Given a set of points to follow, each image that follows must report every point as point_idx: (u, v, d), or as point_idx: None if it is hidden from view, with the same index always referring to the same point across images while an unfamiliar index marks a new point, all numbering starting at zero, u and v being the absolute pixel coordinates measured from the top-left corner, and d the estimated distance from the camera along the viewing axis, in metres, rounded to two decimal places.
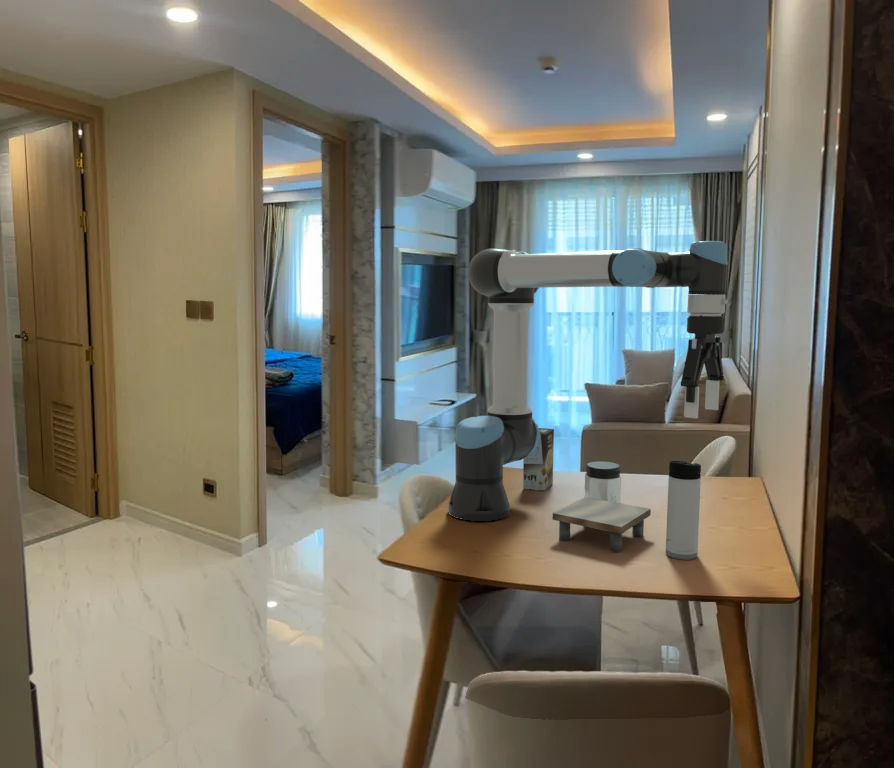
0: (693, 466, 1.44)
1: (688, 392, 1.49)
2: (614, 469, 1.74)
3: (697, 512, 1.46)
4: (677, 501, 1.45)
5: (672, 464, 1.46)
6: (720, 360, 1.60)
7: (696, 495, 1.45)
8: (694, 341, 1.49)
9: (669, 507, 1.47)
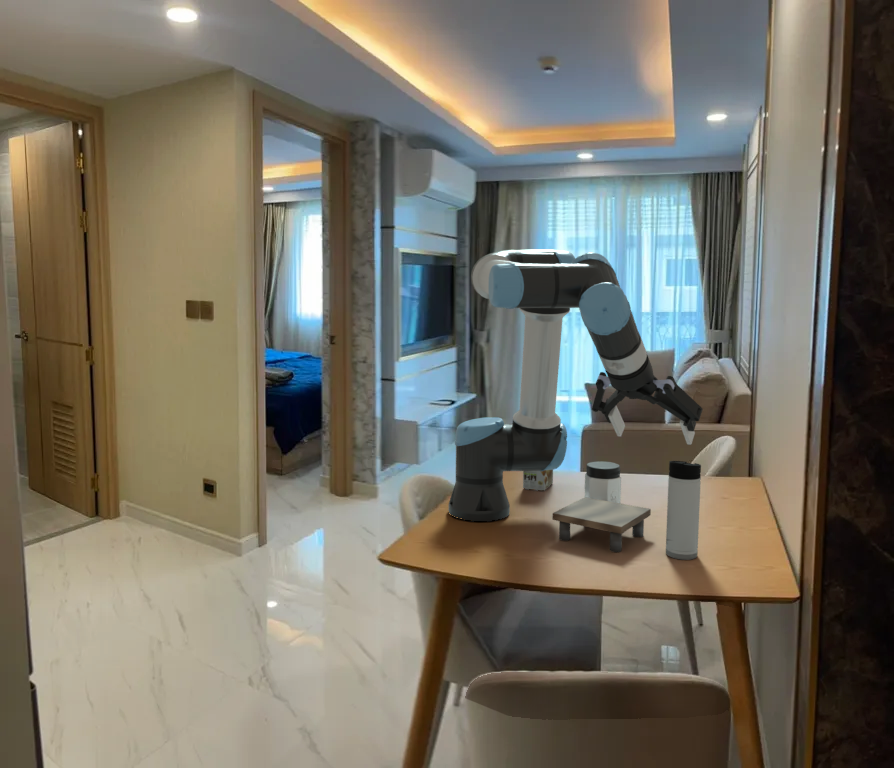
0: (693, 466, 1.44)
1: None
2: (614, 469, 1.74)
3: (697, 512, 1.46)
4: (677, 501, 1.45)
5: (672, 464, 1.46)
6: (681, 407, 1.24)
7: (696, 495, 1.45)
8: (598, 378, 1.31)
9: (669, 507, 1.47)
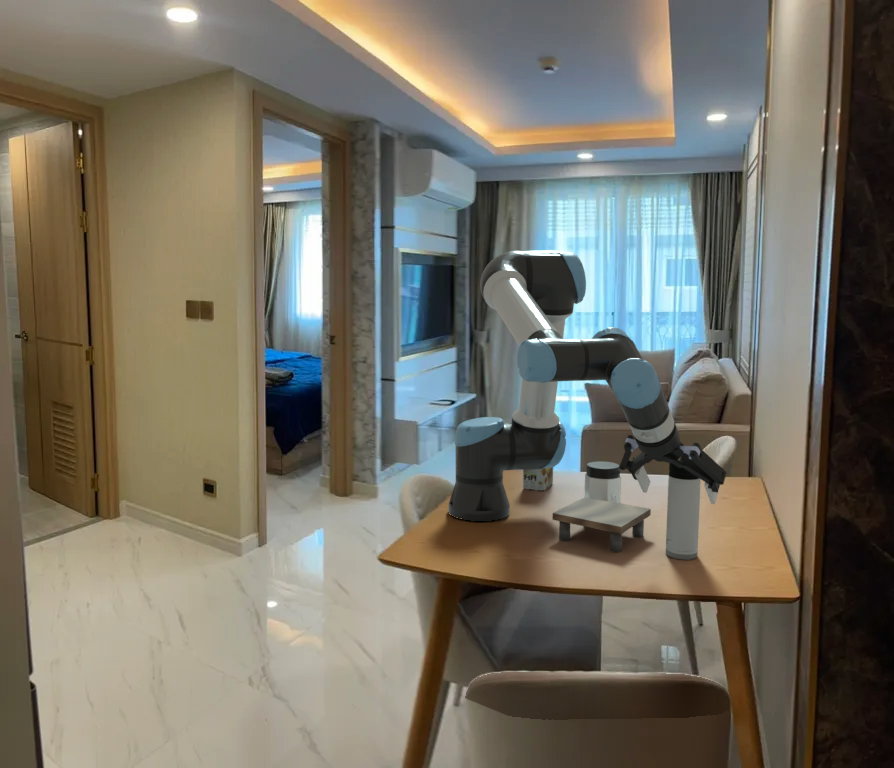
0: None
1: None
2: (614, 469, 1.74)
3: (697, 512, 1.46)
4: (677, 501, 1.45)
5: (672, 464, 1.46)
6: (707, 471, 1.31)
7: (696, 495, 1.45)
8: (626, 441, 1.37)
9: (669, 507, 1.47)
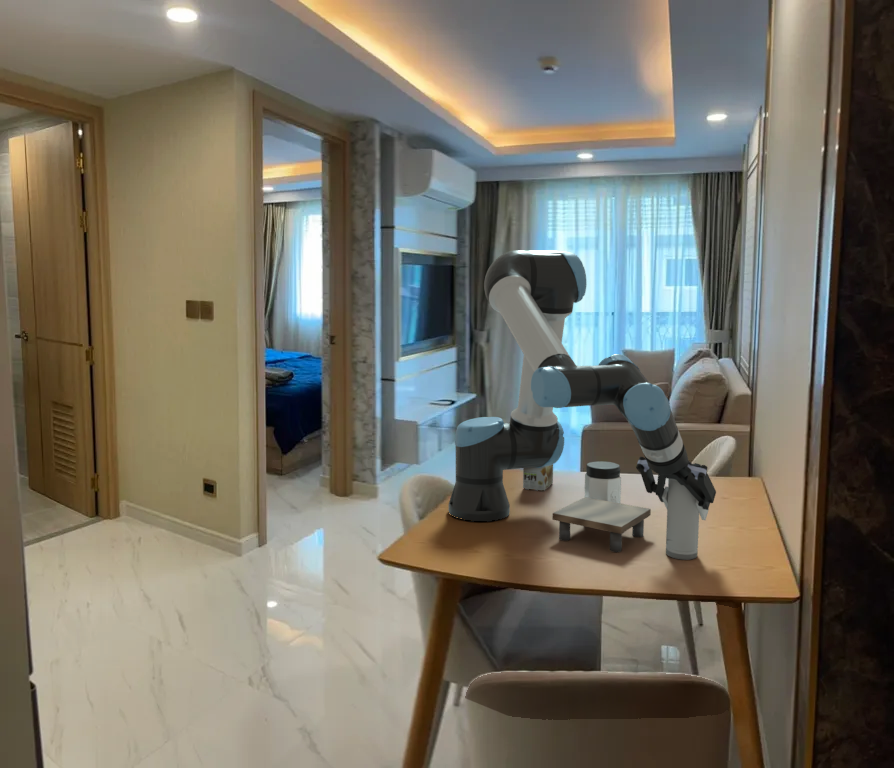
0: None
1: None
2: (614, 469, 1.74)
3: (697, 512, 1.46)
4: (677, 501, 1.45)
5: None
6: (704, 491, 1.39)
7: None
8: None
9: (669, 507, 1.47)
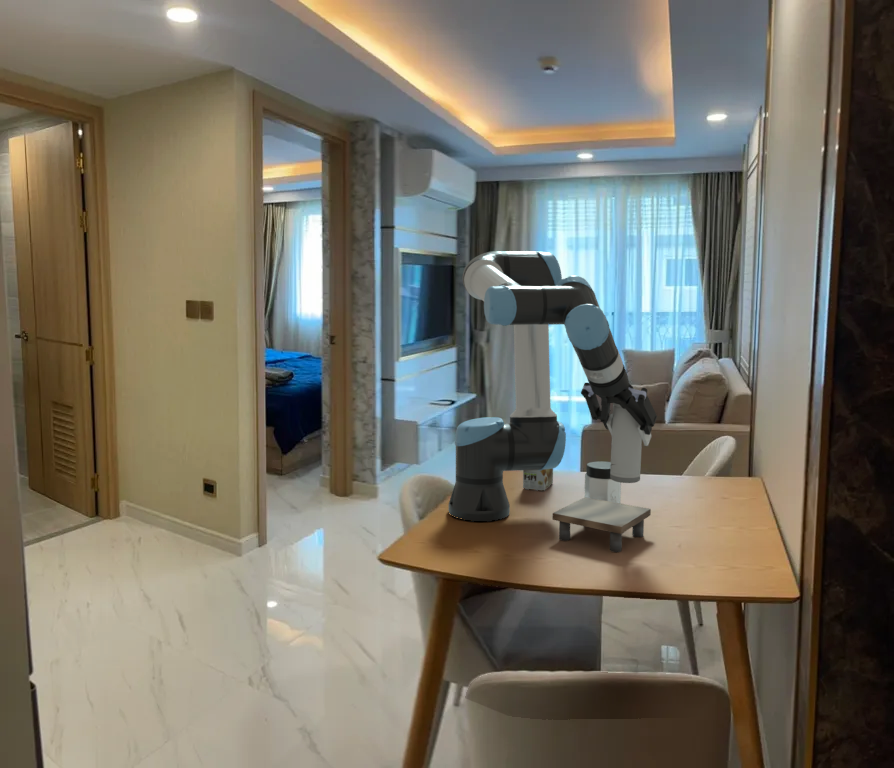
0: None
1: None
2: None
3: (639, 437, 1.51)
4: (620, 426, 1.51)
5: None
6: (645, 414, 1.45)
7: None
8: None
9: (613, 432, 1.53)
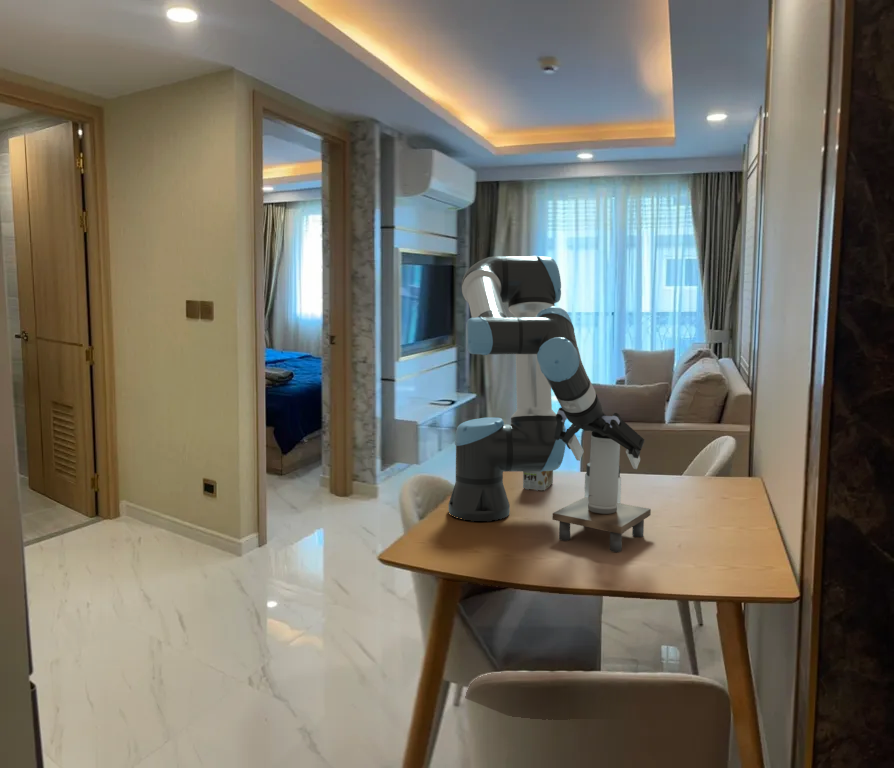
0: None
1: None
2: None
3: (616, 469, 1.56)
4: (597, 459, 1.56)
5: None
6: (626, 438, 1.48)
7: (615, 453, 1.55)
8: (557, 413, 1.54)
9: (591, 464, 1.58)
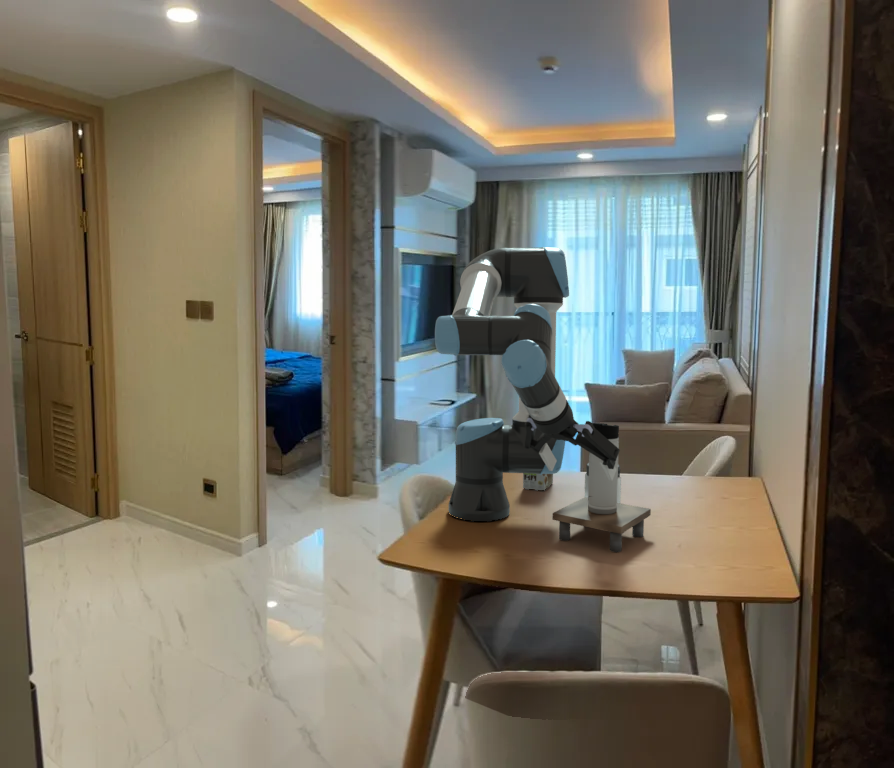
0: (611, 426, 1.54)
1: None
2: None
3: None
4: (596, 459, 1.56)
5: None
6: (599, 448, 1.37)
7: None
8: None
9: (590, 465, 1.57)
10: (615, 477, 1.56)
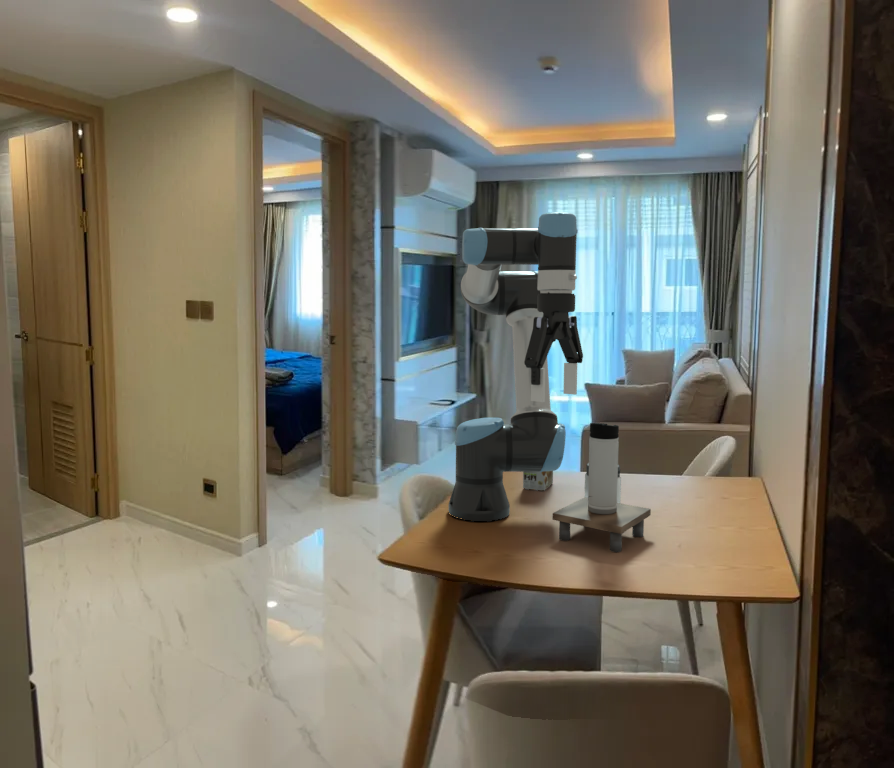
0: (610, 426, 1.54)
1: (533, 374, 1.39)
2: None
3: (615, 470, 1.56)
4: (596, 459, 1.56)
5: (592, 425, 1.56)
6: (578, 341, 1.50)
7: (614, 454, 1.55)
8: (539, 319, 1.39)
9: (590, 465, 1.57)
10: (615, 477, 1.56)
